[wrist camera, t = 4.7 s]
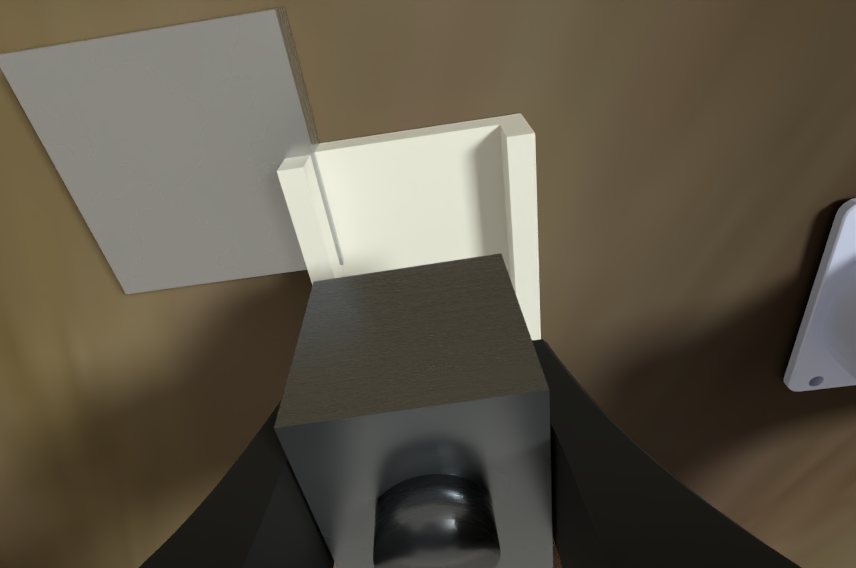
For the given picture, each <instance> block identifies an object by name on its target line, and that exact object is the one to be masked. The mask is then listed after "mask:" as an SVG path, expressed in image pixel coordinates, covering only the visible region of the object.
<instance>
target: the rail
mask: <svg viewBox="0 0 856 568" xmlns="http://www.w3.org/2000/svg"><path fill="white" fill-rule="evenodd" d="M315 154H316V158H317V162H318V165H319V169H320V173H321V177H322V180H323V184H324V188H325V192H326V196H327V199H328V203H329V207H330V211H331V214H332V218H333V222H334V226H335V229H336V233H337V237H338V241H339V245H340V248H341V252H342V256H343V260H344V264H343V265H340V263H339V259H338V256H337V252H336V248H335V245H334V241H333V237H332V234H331V230H330V226H329V222H328V219H327V215H326V211H325V208H324V204H323V200H322V197H321V193H320V189H319V186H318V182H317V178H316V175H315V171H314V167H313V164H312V160H311V156H310V155H306V156H299V157H293V158H286V159H284V161H283V162H282V164H281V165H280V167H279V168H278V170H277V174H278V177H279V180H280V184H281V187H282V190H283V193H284V196H285V200H286V203H287V206H288V209H289V212H290V216H291V219H292V222H293V225H294V228H295V231H296V235H297V238H298V241H299V244H300V247H301V251H302V254H303V257H304V260H305V263H306V267H307V270H308V273H309V276H310V279H311V283H312V286H313V282H314V281H320V280H327V279H334V278H340V277H347V276H354V275H360V274H367V273H374V272H380V271H387V270H394V269H400V268H407V267H414V266H420V265H427V264H434V263H440V262H447V261H453V260H460V259H467V258H473V257H480V256H487V255H493V254H500V253H501V254H502V257H503V260H504V262H505V265H506V268H507V271H508V274H509V277H510V279H511V282H512V285H513V288H514V291H515V294H516V296H517V299H518V302H519V305H520V308H521V311H522V313H523V316H524V319H525V322H526V325H527V328H528V331H529V333H530V336H531V339H532V340H540V339H541V333H540V296H539V260H538V224H537V187H536V151H535V132H534V131H533V130H532V128H531V127H530V126H529V124H528V123H527V121H526V120H525V119H524V117H523V116H522V115H521V113H520V114H513V115H506V116H500V117H493V118H486V119H480V120H473V121H466V122H460V123H453V124H446V125H440V126H433V127H426V128H420V129H413V130H406V131H400V132H393V133H386V134H380V135H373V136H366V137H360V138H353V139H346V140H340V141H333V142H326V143H320V144H319V145H318V147H317V149H316V151H315Z"/></svg>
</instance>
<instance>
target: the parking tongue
mask: <svg viewBox="0 0 856 568" xmlns="http://www.w3.org/2000/svg"><path fill="white" fill-rule="evenodd" d="M0 68H1V70H2V71H3V73H4V75H5V77H6V79H7V80H8V82H9V84H10V86H11V88H12V89H13V91H14V93H15V95H16V97H17V98H18V100H19V102H20V104H21V106H22V107H23V109H24V111H25V113H26V115H27V117H28V118H29V120H30V122H31V124H32V126H33V127H34V129H35V131H36V133H37V135H38V136H39V138H40V140H41V142H42V144H43V145H44V147H45V149H46V151H47V153H48V154H49V156H50V158H51V160H52V162H53V163H54V165H55V167H56V169H57V171H58V172H59V174H60V176H61V178H62V180H63V181H64V183H65V185H66V187H67V189H68V190H69V192H70V194H71V196H72V198H73V200H74V201H75V203H76V205H77V207H78V209H79V210H80V212H81V214H82V216H83V218H84V219H85V221H86V223H87V225H88V227H89V228H90V230H91V232H92V234H93V236H94V237H95V239H96V241H97V243H98V245H99V246H100V248H101V250H102V252H103V254H104V255H105V257H106V259H107V261H108V263H109V264H110V266H111V268H112V270H113V272H114V273H115V275H116V277H117V279H118V281H119V282H120V284H121V286H122V288H123V290H124V292H125V293H126V294H132V293H139V292H147V291H154V290H161V289H169V288H176V287H183V286H191V285H198V284H205V283H213V282H220V281H227V280H235V279H242V278H250V277H257V276H264V275H272V274H279V273H286V272H294V271H301V270H307V267H306V263H305V260H304V257H303V254H302V251H301V247H300V244H299V241H298V238H297V235H296V231H295V228H294V225H293V222H292V219H291V216H290V212H289V209H288V206H287V203H286V200H285V196H284V193H283V190H282V187H281V184H280V180H279V177H278V174H277V170H278V168H279V167H280V165H281V164H282V162H283V161H284V159H286V158H293V157H299V156H306V155H310V156H311V160H312V164H313V167H314V171H315V175H316V178H317V182H318V186H319V189H320V193H321V197H322V200H323V204H324V208H325V211H326V215H327V219H328V222H329V226H330V230H331V234H332V237H333V241H334V245H335V248H336V252H337V256H338V259H339V263H340V265H343V264H344V260H343V256H342V252H341V248H340V245H339V241H338V237H337V233H336V229H335V226H334V222H333V218H332V214H331V211H330V207H329V203H328V199H327V196H326V192H325V188H324V184H323V180H322V177H321V173H320V169H319V165H318V162H317V158H316V154H315V151H316V149H317V147H318V145H319V144H320V143H319V139H318V135H317V132H316V128H315V124H314V120H313V116H312V112H311V108H310V104H309V101H308V97H307V93H306V89H305V85H304V81H303V77H302V73H301V70H300V66H299V62H298V58H297V54H296V50H295V46H294V42H293V39H292V35H291V31H290V27H289V23H288V19H287V15H286V11H285V8H284V7H279V8H273V9H267V10H261V11H255V12H248V13H242V14H236V15H230V16H224V17H218V18H212V19H206V20H200V21H194V22H188V23H182V24H176V25H170V26H164V27H158V28H152V29H146V30H140V31H134V32H128V33H122V34H115V35H109V36H103V37H97V38H91V39H85V40H79V41H73V42H67V43H61V44H55V45H49V46H43V47H37V48H31V49H25V50H19V51H14V52H10V53H5V54H0Z"/></svg>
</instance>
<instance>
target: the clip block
mask: <svg viewBox="0 0 856 568" xmlns="http://www.w3.org/2000/svg"><path fill="white" fill-rule="evenodd" d="M274 430H275V432H276V434H277V436H278V439H279V441H280V443H281V445H282V447H283V449H284V452H285V454H286V456H287V458H288V460H289V463H290V465H291V467H292V469H293V471H294V474H295V476H296V478H297V480H298V482H299V485H300V487H301V489H302V491H303V493H304V496H305V498H306V500H307V502H308V504H309V507H310V509H311V511H312V513H313V515H314V518H315V520H316V522H317V524H318V526H319V529H320V531H321V533H322V535H323V537H324V540H325V542H326V544H327V546H328V548H329V551H330V553H331V555H332V557H333V559H334V562H335V564H336V566H337V568H553V541H552V492H551V443H550V395H549V387H548V384H547V382H546V379H545V376H544V373H543V370H542V367H541V365H540V362H539V359H538V356H537V353H536V350H535V348H534V345H533V342H532V339H531V336H530V333H529V331H528V328H527V325H526V322H525V319H524V316H523V313H522V311H521V308H520V305H519V302H518V299H517V296H516V294H515V291H514V288H513V285H512V282H511V279H510V277H509V274H508V271H507V268H506V265H505V262H504V260H503V257H502V254H501V253H500V254H493V255H487V256H480V257H473V258H467V259H460V260H453V261H447V262H440V263H434V264H427V265H420V266H414V267H407V268H400V269H394V270H387V271H380V272H374V273H367V274H360V275H354V276H347V277H340V278H334V279H327V280H320V281H314V282H313V286H312V289H311V293H310V297H309V300H308V304H307V308H306V312H305V315H304V319H303V323H302V326H301V330H300V334H299V337H298V341H297V345H296V348H295V352H294V356H293V360H292V363H291V367H290V371H289V374H288V378H287V382H286V385H285V389H284V393H283V396H282V400H281V404H280V407H279V411H278V415H277V419H276V422H275V426H274Z"/></svg>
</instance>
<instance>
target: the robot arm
mask: <svg viewBox="0 0 856 568" xmlns="http://www.w3.org/2000/svg"><path fill="white" fill-rule="evenodd" d="M532 342H533V345H534V348H535V350H536V353H537V356H538V359H539V362H540V365H541V367H542V370H543V373H544V376H545V379H546V382H547V384H548V387H549V395H550V443H551V492H552V534H553V537H554V540H555V544H556V547H557V550H558V553H559V557H560V560H561V564H562V567H563V568H801V567H800V566H798V565H797V564H795V563H794V562H792V561H791V560H789V559H788V558H786V557H784V556H783V555H781V554H780V553H778V552H777V551H775V550H774V549H772V548H771V547H769V546H768V545H766V544H765V543H763V542H762V541H760V540H759V539H758V538H756V537H755V536H753V535H752V534H751V533H749V532H748V531H746V530H745V529H744V528H742V527H741V526H739V525H738V524H737V523H735V522H734V521H732V520H731V519H730V518H728V517H727V516H725V515H724V514H723V513H721V512H720V511H718V510H717V509H716V508H714V507H713V506H711V505H710V504H709V503H707V502H706V501H705V500H703V499H702V498H701V497H700V496H698V495H697V494H696V493H695V492H693V491H692V490H691V489H689V488H688V487H687V486H686V485H684V484H683V483H682V482H681V481H679V480H678V479H677V478H676V477H675V476H673V475H672V474H671V473H670V472H669V471H667V470H666V469H665V468H664V467H663V466H661V465H660V464H659V463H658V462H657V461H656V460H654V459H653V458H652V457H651V456H650V455H649V454H648V453H647V452H645V451H644V450H643V449H642V448H641V447H640V446H639V445H638V444H637V443H636V442H635V441H634V440H633V439H632V438H630V437H629V436H628V435H627V434H626V433H625V432H624V431H623V430H622V429H621V428H620V427H619V426H618V425H617V424H616V423H615V422H614V421H613V420H612V419H611V418H610V417H609V416H608V415H607V414H606V413H605V412H604V411H603V410H602V408H601V407H600V406H599V405H598V404H597V403H596V402H595V401H594V400H593V399H592V398H591V397H590V395H589V394H588V393H587V392H586V391H585V390H584V389H583V388H582V387H581V385H580V384H579V383H578V382H577V381H576V380H575V378H574V377H573V376H572V375H571V374H570V372H569V371H568V370H567V369H566V367H565V366H564V365H563V364H562V362H561V361H560V360H559V359H558V357H557V356H556V355H555V353H554V352H553V350H552V349H551V348H550V346H549V345H548V343H547V342H545V341H544V340H543V339H540V340H532ZM784 383H785V384H786V386H787V387H788V388H789V389H790V390H792V391H808V390H817V389H826V388H834V387H843V386H851V385H856V198H854V199H850V200H849V201H847V202H845V203H844V204H843V205H842V206H841V207H840V208H839V209H838V211H837V213H836V215H835V219H834V222H833V225H832V228H831V231H830V234H829V237H828V241H827V244H826V247H825V250H824V253H823V256H822V259H821V263H820V266H819V269H818V272H817V275H816V278H815V282H814V285H813V288H812V291H811V294H810V297H809V300H808V304H807V307H806V310H805V313H804V316H803V319H802V322H801V326H800V329H799V332H798V335H797V338H796V341H795V344H794V348H793V351H792V354H791V357H790V360H789V363H788V366H787V370H786V373H785V376H784ZM281 400H282V399H281ZM280 404H281V401H280V402H279V404H278V405H277V407H276V408H275V410H274V411H273V412H272V414H271V415H270V417H269V418H268V420H267V421H266V422H265V424H264V425H263V426H262V428H261V429H260V431H259V432H258V433H257V435H256V436H255V437H254V439H253V440H252V441H251V443H250V444H249V446H248V447H247V448H246V450H245V451H244V452H243V454H242V455H241V456H240V457H239V459H238V460H237V461H236V462H235V464H234V465H233V466H232V467H231V469H230V470H229V471H228V472H227V474H226V475H225V476H224V477H223V479H222V480H221V481H220V482H219V484H218V485H217V486H216V487H215V488H214V490H213V491H212V492H211V493H210V494H209V495H208V497H207V498H206V499H205V500H204V501H203V502H202V504H201V505H200V506H199V507H198V508H197V509H196V510H195V511H194V512H193V514H192V515H191V516H190V517H189V518H188V519H187V520H186V521H185V522H184V523H183V524H182V525H181V526H180V528H179V529H178V530H177V531H176V532H175V533H174V534H173V535H172V536H171V537H170V538H169V539H168V540H167V541H166V542H165V543H164V544H163V545H162V546H161V547H160V548H159V549H158V550H157V551H156V552H155V553H154V554H153V555H151V556H150V557H149V558H148V559H147V560H146V561H145V562H144V563H143V564H142V565H141V566H140V567H139V568H333V566H334V559H333V557H332V555H331V553H330V551H329V548H328V546H327V544H326V542H325V540H324V537H323V535H322V533H321V531H320V529H319V526H318V524H317V522H316V520H315V518H314V515H313V513H312V511H311V509H310V507H309V504H308V502H307V500H306V498H305V496H304V493H303V491H302V489H301V487H300V485H299V482H298V480H297V478H296V476H295V474H294V471H293V469H292V467H291V465H290V463H289V460H288V458H287V456H286V454H285V452H284V449H283V447H282V445H281V443H280V441H279V439H278V436H277V434H276V432H275V430H274V426H275V422H276V419H277V415H278V411H279V407H280Z"/></svg>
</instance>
